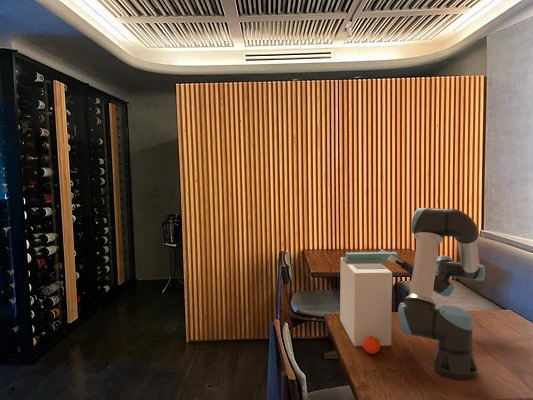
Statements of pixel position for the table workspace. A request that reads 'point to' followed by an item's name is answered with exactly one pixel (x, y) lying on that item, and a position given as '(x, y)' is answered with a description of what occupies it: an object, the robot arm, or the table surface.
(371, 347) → the tomato
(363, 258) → the teal block
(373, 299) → the tall cream box
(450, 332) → the robot arm
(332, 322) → the table surface
